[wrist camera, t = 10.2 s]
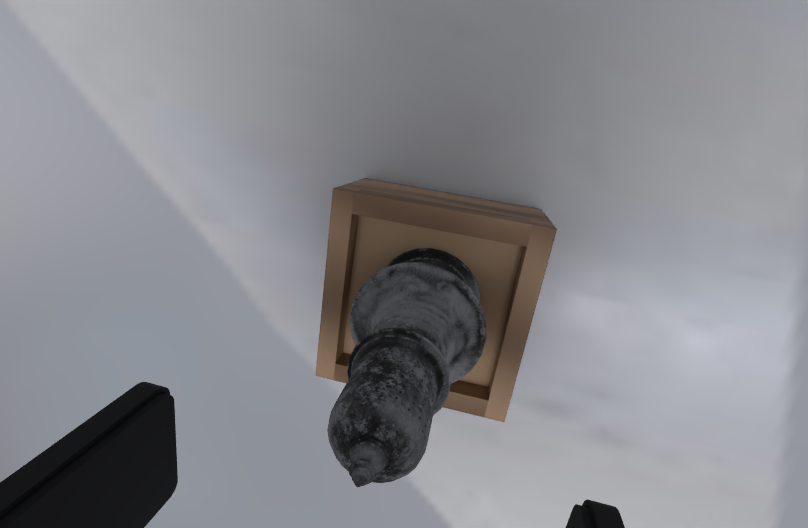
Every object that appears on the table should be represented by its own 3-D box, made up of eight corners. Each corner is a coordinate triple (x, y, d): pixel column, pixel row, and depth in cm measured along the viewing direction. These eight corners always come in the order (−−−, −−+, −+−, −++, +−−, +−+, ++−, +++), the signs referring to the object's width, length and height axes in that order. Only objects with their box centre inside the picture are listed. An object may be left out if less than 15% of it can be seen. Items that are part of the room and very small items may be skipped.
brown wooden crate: (364, 178, 24) (333, 188, 19) (541, 209, 23) (556, 229, 18) (346, 332, 27) (315, 375, 22) (500, 368, 26) (504, 422, 21)
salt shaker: (493, 248, 20) (502, 397, 8) (479, 359, 21) (471, 606, 10) (372, 236, 21) (233, 354, 9) (368, 342, 22) (248, 551, 11)
